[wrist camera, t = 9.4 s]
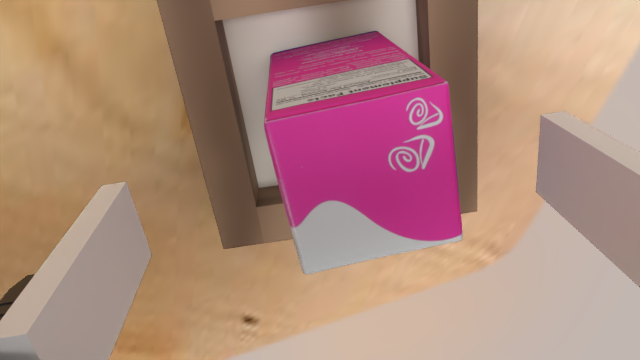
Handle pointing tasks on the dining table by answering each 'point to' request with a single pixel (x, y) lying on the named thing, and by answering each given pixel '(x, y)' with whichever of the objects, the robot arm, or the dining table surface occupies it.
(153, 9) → the dining table surface
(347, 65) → the supplement box
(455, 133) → the socket block
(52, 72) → the dining table surface
